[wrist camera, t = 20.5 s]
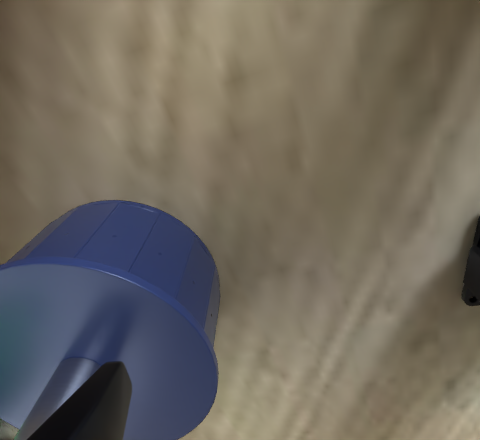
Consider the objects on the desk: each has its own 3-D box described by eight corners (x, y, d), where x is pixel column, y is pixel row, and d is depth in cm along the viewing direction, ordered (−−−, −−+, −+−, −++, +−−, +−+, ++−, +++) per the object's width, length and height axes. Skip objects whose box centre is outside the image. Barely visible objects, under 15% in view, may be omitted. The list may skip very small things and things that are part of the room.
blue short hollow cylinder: (203, 190, 19) (181, 254, 14) (230, 341, 25) (223, 434, 19) (8, 209, 20) (-90, 276, 15) (74, 350, 26) (22, 441, 20)
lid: (195, 236, 14) (162, 346, 9) (234, 429, 20) (227, 562, 15) (-93, 259, 15) (-267, 369, 10) (24, 436, 21) (-50, 561, 16)
